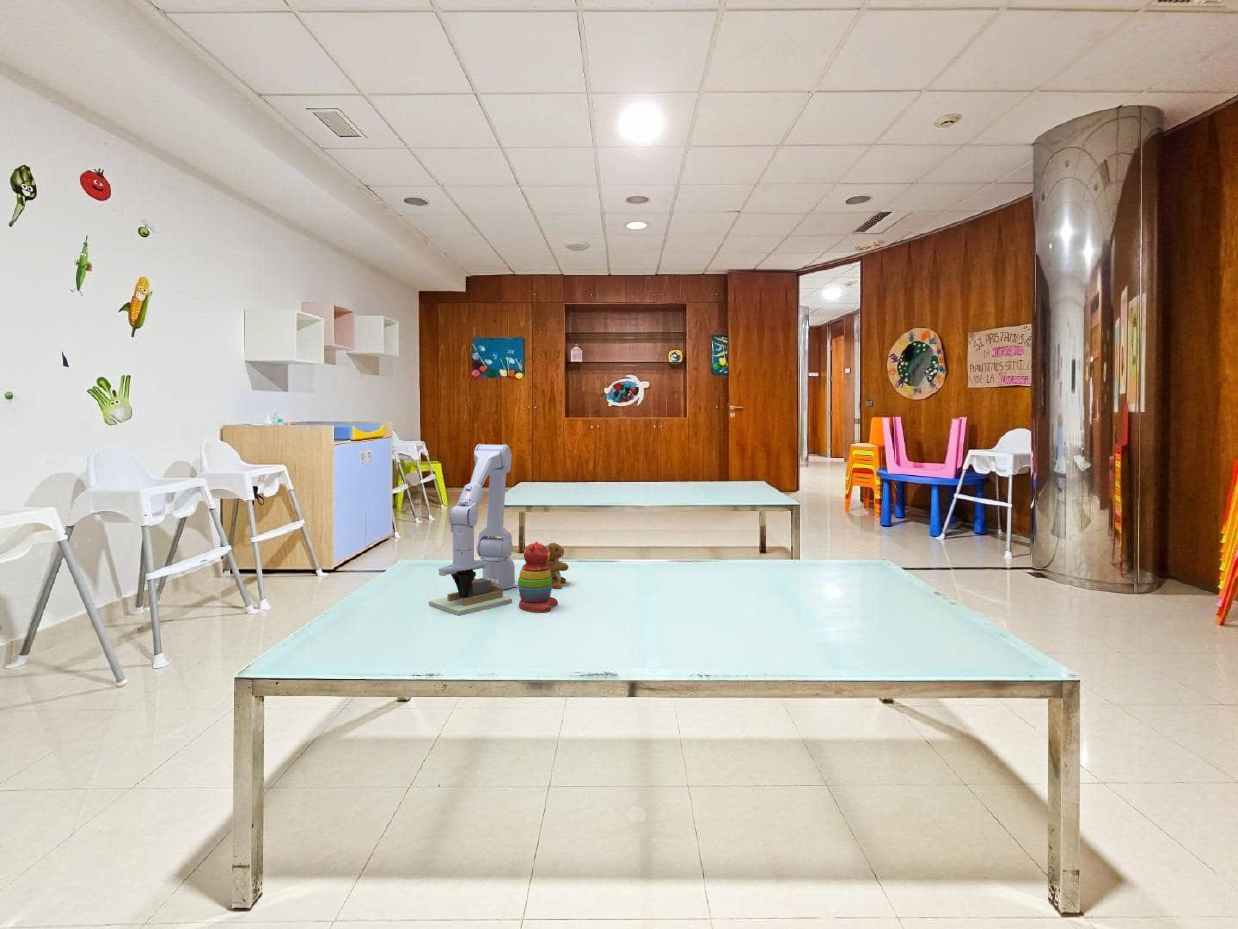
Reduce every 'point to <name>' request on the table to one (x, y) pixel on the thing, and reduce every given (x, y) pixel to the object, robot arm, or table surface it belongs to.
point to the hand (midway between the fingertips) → (463, 597)
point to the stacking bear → (536, 580)
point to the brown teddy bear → (556, 564)
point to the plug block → (479, 587)
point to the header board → (472, 601)
